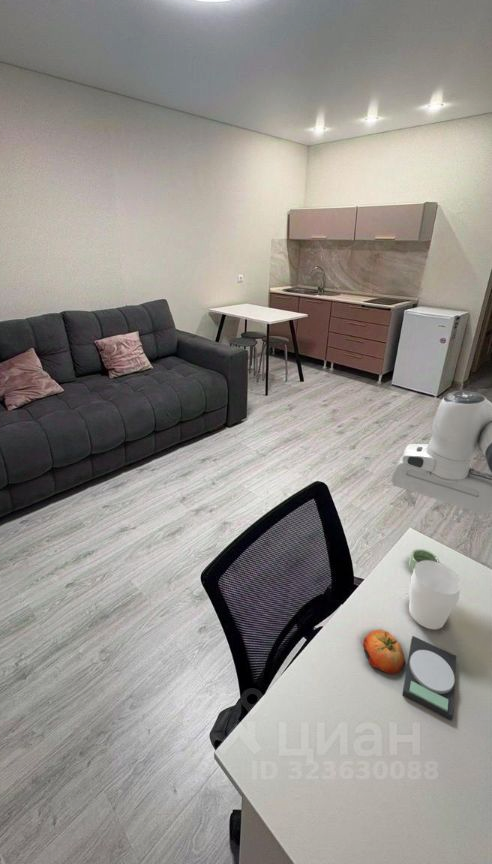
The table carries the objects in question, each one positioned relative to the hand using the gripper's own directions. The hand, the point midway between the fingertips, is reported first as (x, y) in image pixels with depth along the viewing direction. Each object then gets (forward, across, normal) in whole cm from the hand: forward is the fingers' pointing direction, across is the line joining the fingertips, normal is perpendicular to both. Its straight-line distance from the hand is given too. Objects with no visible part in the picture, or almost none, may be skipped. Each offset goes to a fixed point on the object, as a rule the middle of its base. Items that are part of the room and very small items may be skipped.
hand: (433, 512), depth 94 cm
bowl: (+17, -1, 0) cm, 17 cm away
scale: (+18, -6, +28) cm, 33 cm away
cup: (+18, -4, +14) cm, 22 cm away
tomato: (+18, +2, +28) cm, 33 cm away
